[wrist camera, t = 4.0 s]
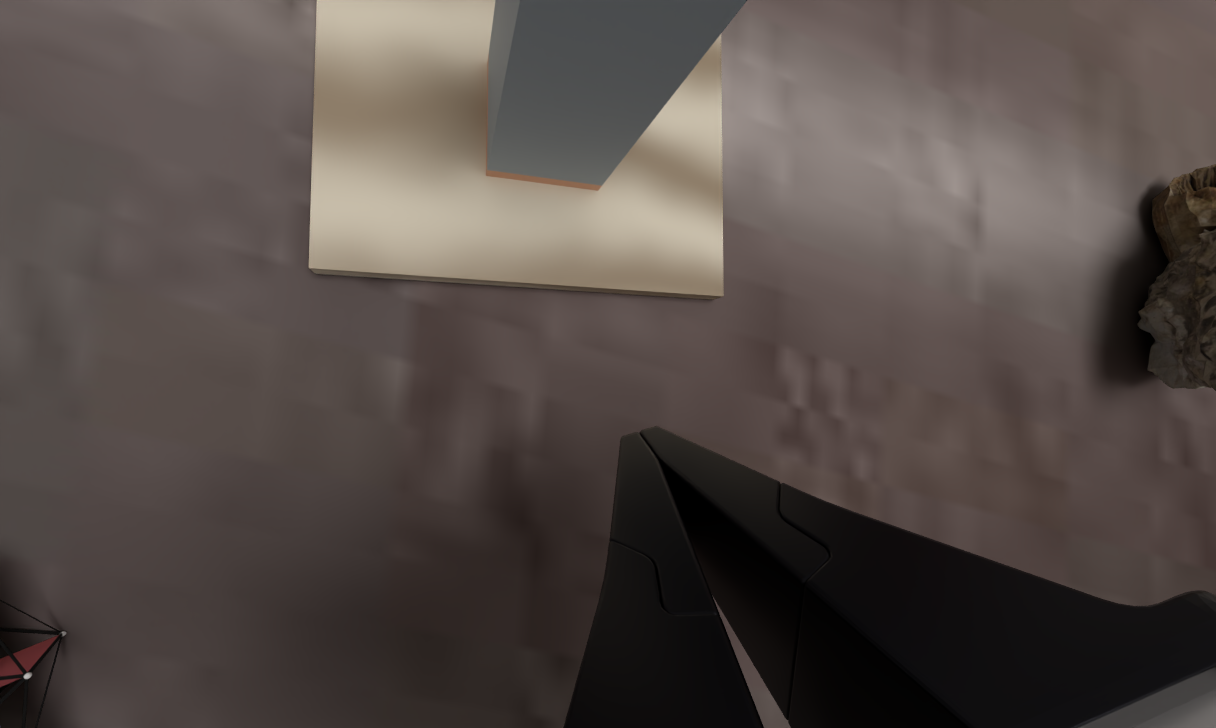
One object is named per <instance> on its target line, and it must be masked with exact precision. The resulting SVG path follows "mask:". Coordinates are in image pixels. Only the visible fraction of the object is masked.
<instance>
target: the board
mask: <svg viewBox="0 0 1216 728" xmlns="http://www.w3.org/2000/svg"><path fill="white" fill-rule="evenodd" d="M494 8H495V0H317V15H316V48H315V80H314V113H313V146H312V179H311V212H310V245H309V269H310V270H312V271H313V272H314V273H315V274H326V275H342V276H357V277H372V278H388V279H403V280H418V281H434V282H449V283H465V284H480V285H495V286H511V287H526V288H541V289H557V290H572V291H587V292H603V293H618V294H633V295H649V296H664V297H680V298H695V299H710V300H714V299H717V298H720V297H723V197H722V87H721V34H720V36H719V37H718V38H717V39H716V41H715V42H714V43H713V44H712V46H711V47H710V48H709V50H708V51H707V52H706V53H705V55H704V56H703V57H702V59H701V60H700V61H699V62H698V64H697V65H696V66H695V67H694V69H693V70H692V71H691V73H690V74H689V75H688V76H687V78H686V79H685V80H684V82H683V83H682V84H681V85H680V87H679V88H678V89H677V90H676V92H675V93H674V94H673V96H672V97H671V98H670V99H669V101H668V102H667V103H666V105H665V106H664V107H663V108H662V110H661V111H660V112H659V114H658V115H657V116H656V117H655V119H654V120H653V121H652V122H651V124H650V125H649V126H648V128H647V129H646V130H645V131H644V133H643V134H642V135H641V137H640V138H639V139H638V140H637V142H636V143H635V144H634V145H633V147H632V148H631V149H630V151H629V152H628V153H627V154H626V156H625V157H624V158H623V160H622V161H621V162H620V163H619V165H618V166H617V167H616V168H615V170H614V171H613V172H612V174H611V175H610V176H609V177H608V179H607V180H606V181H605V183H604V184H603V185H602V186H601V188H600V189H599V190H598V191H596V190H589V189H581V188H574V187H566V186H559V185H551V184H544V183H536V182H529V181H521V180H514V179H506V178H499V177H491V176H486V132H487V62H488V54H489V46H490V39H491V31H492V23H493V16H494Z"/></svg>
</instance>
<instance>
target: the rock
mask: <svg viewBox="0 0 1216 728" xmlns="http://www.w3.org/2000/svg"><path fill="white" fill-rule="evenodd" d="M1152 221H1153V224H1154V227H1155V231H1156V232H1157V235H1158V238H1159V240H1160V243H1161V246H1162V248H1163V250H1164V252H1165V255H1166V257H1167V259H1168V261H1169V264H1168V265H1167V267H1166V269H1165V270H1164V272H1163V273H1162V274H1161V275H1160V276H1158V277H1157V278H1156V281H1155V283H1153V284H1152V285H1151V286H1150V287H1149V295H1148V300H1147V301H1146V302H1145V308H1143V309H1142V310H1140V311H1139V314H1140V317H1141V320H1140V321H1139V323H1138V324H1137V325H1138V326H1139V328H1140V329H1142V330H1144V331H1146V332H1149V333H1151V335H1152V336H1153V337H1154V339H1155V342H1154V344H1153V345H1152V346H1151V350H1150V356H1149V364H1148V369H1147V370H1149V371H1151V372H1154V375H1156V376H1158V377H1159V378H1160V380H1162V381H1163V382H1164V383H1165V384H1166V385H1168V386H1169V387H1171V388H1188V389H1198V388H1205V387H1209V388H1211V387H1212V388H1213V389H1214V390H1215V391H1216V164H1215V165H1211V166H1208V167H1205V168H1200V169H1196V170H1195V171H1194V172H1192V173H1189V174H1184V175H1181V176H1180V177H1176V178H1174V179H1173V180H1172V182H1171V183H1170V184H1169V186H1168V187H1167V188H1166V189H1165V190H1163V191H1162V192H1161V193H1160V194H1159V195H1157V196H1156V197H1155V198H1154V199H1153V200H1152Z"/></svg>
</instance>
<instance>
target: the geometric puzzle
mask: <svg viewBox="0 0 1216 728" xmlns="http://www.w3.org/2000/svg"><path fill="white" fill-rule="evenodd" d="M0 601H1V602H3V603H5V604H7V605H9V604H8V603H6V602H4V601H2V600H0ZM9 606H11V605H9ZM11 607H13V606H11ZM13 608H15V607H13ZM15 609H16V610H18V611H20V612H22V613H24V612H23V611H21V610H19V609H17V608H15ZM24 614H26V613H24ZM26 615H28V614H26ZM28 616H30V615H28ZM30 617H32V616H30ZM32 618H33V619H35V620H37V621H39V620H38V619H36V618H34V617H32ZM39 622H41V621H39ZM41 623H43V622H41ZM43 624H45V623H43ZM45 625H47V624H45ZM47 626H48V627H50V628H52V629H54V630H56V629H55V628H53V627H51V626H49V625H47ZM0 631H7V632H23V633H38V634H54V635H58V636H55V637H53V638H50V639H48V640H45V641H43V642H40V643H38V644H35V645H33V646H31V647H28V648H26V649H23V650H21V651H18V652H16V653H12V652H11V651H10V650H9V648H8V647H7V646H6V645H5V643H4V642H3V641H2V640H1V638H0V645H1V646H2V647H3V649H4V650H5V651H6V652H7V654H8V656H6V657H3V658H1V659H0V687H1V688H0V693H1V692H2V691H3V690H4V689H5V688H6V687H7V686H9V685H10V684H11V683H12V682H14V681H16V680H18V679H21V678H22V679H21V680H20V681H19V682H18V683H17V684H16V685H15V686H14V687H13V688H12V689H11V690H10V691H9V692H8V693H7V694H6V695H5V696H3V697H2V698H1V699H0V704H1V703H2V702H3V701H4V700H5V699H6V698H7V697H8V696H9V695H10V694H11V693H12V692H13V691H14V690H15V689H16V688H17V687H19V686H20V685H21V684H22V683H23V682H24V681H25V689H24V704H23V720H22V728H25V723H26V708H27V693H28V679H29V678H30V677H31V676H32V673H31V672H32V671H33V670H34V669H35V668H36V666H37V665H38V664H39V663H40V662H41V660H42V659H43V658H44V657H45V656H46V654H47V653H48V652H49V651H50V650H51V648H52V647H53V646H54V645H55V644H56V642H57V641H58V640H59V639H60V641H59V644H58V648H57V651H56V655H55V659H54V662H53V666H52V669H51V673H50V676H49V680H48V683H47V687H46V691H45V694H44V698H43V701H42V705H41V708H40V712H39V716H38V719H37V723H36V726H35V728H37V726H38V722H39V718H40V715H41V711H42V708H43V704H44V700H45V697H46V693H47V690H48V686H49V683H50V679H51V675H52V672H53V668H54V665H55V661H56V657H57V654H58V650H59V647H60V643H61V639H62V636H65V635H66V631H62V632H60V631H58V630H56V631H58V632H50V631H34V630H19V629H4V628H0ZM0 728H1V727H0Z"/></svg>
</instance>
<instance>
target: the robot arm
mask: <svg viewBox="0 0 1216 728" xmlns="http://www.w3.org/2000/svg"><path fill="white" fill-rule="evenodd" d="M712 595H713V596H712ZM713 597H714V599H715V600H716V602H717V604H718V605H719V607H720V609H721V610H722V612H723V614H724V615H725V617H726V619H727V621H728V622H729V624H730V626H731V627H732V629H733V631H734V632H735V634H736V636H737V637H738V639H739V641H740V642H741V644H742V646H743V647H744V649H745V651H746V653H747V654H748V656H749V658H750V659H751V661H752V663H753V664H754V666H755V668H756V669H757V671H758V673H759V674H760V676H761V678H762V679H763V681H764V683H765V684H766V686H767V688H768V690H769V691H770V693H771V695H772V696H773V698H774V700H775V701H776V703H777V705H778V706H779V708H780V710H781V711H782V713H783V715H784V716H785V718H786V719H787V720H788V723H789V725H790V727H791V728H1216V595H1214V594H1212V593H1209V592H1206V591H1201V590H1197V591H1190V592H1185V593H1183V594H1180V595H1177V596H1175V597H1172V598H1170V599H1168V600H1165V601H1163V602H1160V603H1158V604H1154V605H1149V606H1131V605H1124V604H1118V603H1114V602H1111V601H1107V600H1104V599H1101V598H1098V597H1095V596H1092V595H1089V594H1086V593H1084V592H1081V591H1078V590H1075V589H1072V588H1069V587H1066V586H1064V585H1061V584H1058V583H1055V582H1052V581H1049V580H1047V579H1044V578H1041V577H1038V576H1035V575H1032V574H1029V573H1027V572H1024V571H1021V570H1018V569H1015V568H1012V567H1010V566H1007V565H1004V564H1001V563H998V562H995V561H992V560H990V559H987V558H984V557H981V556H978V555H975V554H973V553H970V552H967V551H964V550H961V549H958V548H955V547H953V546H950V545H947V544H944V543H941V542H938V541H936V540H933V539H930V538H927V537H924V536H921V535H918V534H916V533H913V532H910V531H907V530H904V529H901V528H899V527H896V526H893V525H890V524H887V523H884V522H882V521H879V520H876V519H873V518H870V517H867V516H864V515H862V514H859V513H856V512H853V511H850V510H848V509H845V508H842V507H840V506H837V505H834V504H832V503H829V502H826V501H824V500H821V499H819V498H817V497H814V496H812V495H810V494H807V493H805V492H802V491H800V490H798V489H796V488H793V487H791V486H789V485H787V484H785V483H781V485H780V482H779V481H777V480H774V479H772V478H770V477H768V476H766V475H763V474H761V473H759V472H757V471H755V470H752V469H750V468H748V467H746V466H744V465H741V464H739V463H737V462H735V461H733V460H730V459H728V458H726V457H724V456H722V455H719V454H717V453H715V452H713V451H711V450H708V449H706V448H704V447H702V446H700V445H697V444H695V443H693V442H691V441H689V440H686V439H684V438H682V437H680V436H678V435H676V434H673V433H671V432H669V431H667V430H665V429H662V428H660V427H657V426H654V427H651V428H648V429H645V430H642V431H641V432H640V434H639V433H638V432H635V433H632V434H629V435H625V436H623V437H621V441H620V450H619V459H618V468H617V477H616V486H615V495H614V504H613V514H612V523H611V532H610V542H609V546H608V555H607V562H606V569H605V575H604V581H603V585H602V589H601V593H600V597H599V602H598V605H597V609H596V613H595V616H594V620H593V623H592V627H591V631H590V634H589V638H588V641H587V645H586V649H585V652H584V656H583V659H582V663H581V666H580V670H579V674H578V677H577V681H576V684H575V688H574V692H573V695H572V699H571V702H570V706H569V710H568V713H567V717H566V720H565V724H564V727H563V728H764V727H763V724H762V722H761V719H760V716H759V714H758V711H757V709H756V706H755V704H754V701H753V699H752V696H751V693H750V691H749V688H748V686H747V683H746V681H745V678H744V675H743V673H742V670H741V668H740V665H739V663H738V660H737V658H736V655H735V652H734V650H733V647H732V645H731V642H730V640H729V637H728V634H727V632H726V629H725V627H724V624H723V622H722V619H721V617H720V615H719V612H718V609H717V607H716V604H715V602H714V599H713Z"/></svg>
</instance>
